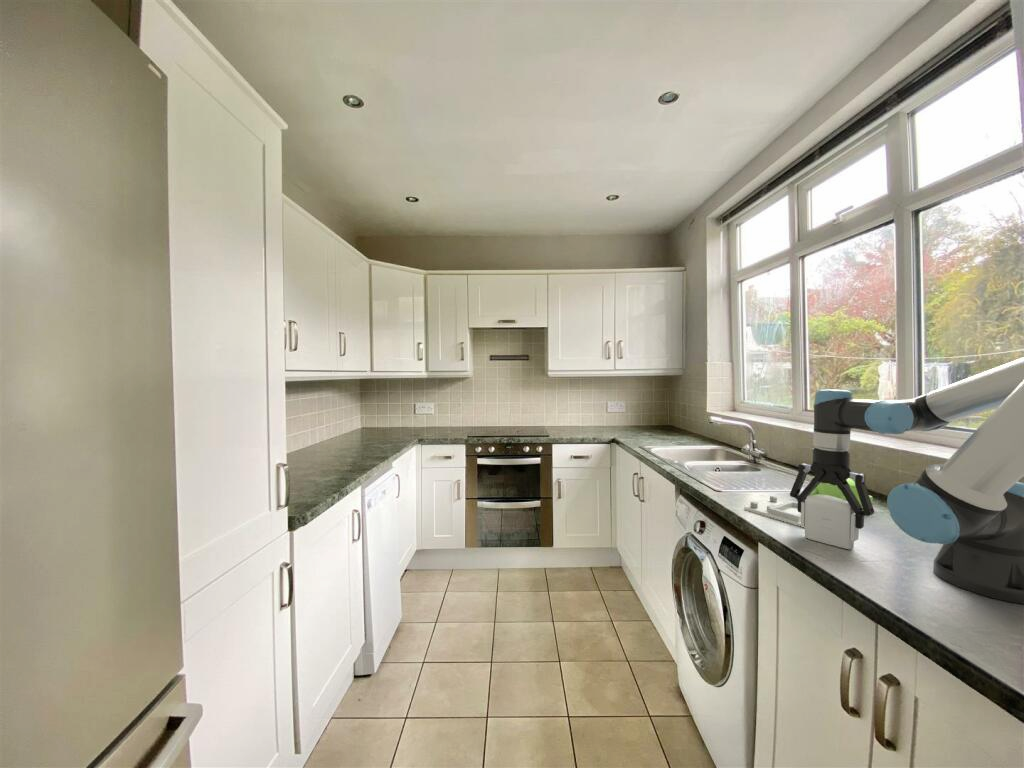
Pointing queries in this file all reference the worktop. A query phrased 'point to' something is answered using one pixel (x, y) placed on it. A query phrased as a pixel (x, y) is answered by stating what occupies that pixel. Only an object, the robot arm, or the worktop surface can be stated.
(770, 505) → the plate
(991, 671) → the worktop surface
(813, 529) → the photo printer
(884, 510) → the worktop surface
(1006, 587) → the robot arm
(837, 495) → the gearbox
